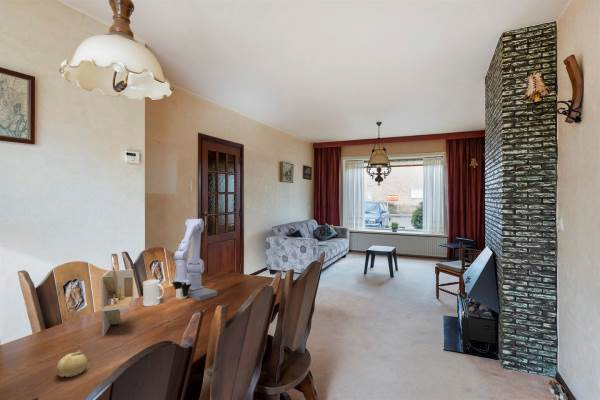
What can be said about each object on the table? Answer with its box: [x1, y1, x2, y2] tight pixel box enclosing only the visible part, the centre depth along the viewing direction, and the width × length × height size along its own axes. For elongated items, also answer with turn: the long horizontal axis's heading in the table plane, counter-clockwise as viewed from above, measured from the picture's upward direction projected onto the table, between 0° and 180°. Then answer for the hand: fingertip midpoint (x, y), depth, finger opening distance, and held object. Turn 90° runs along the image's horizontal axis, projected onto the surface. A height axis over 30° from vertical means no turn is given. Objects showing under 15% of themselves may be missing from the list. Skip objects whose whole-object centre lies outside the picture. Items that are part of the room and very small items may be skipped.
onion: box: [55, 350, 88, 378], centre depth 98 cm, size 8×8×7 cm
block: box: [175, 288, 188, 300], centre depth 176 cm, size 4×4×5 cm
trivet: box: [187, 287, 218, 301], centre depth 179 cm, size 12×12×2 cm
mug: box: [142, 279, 165, 307], centre depth 165 cm, size 12×8×12 cm
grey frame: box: [100, 265, 134, 337], centre depth 132 cm, size 10×16×29 cm, turn 21°
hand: (181, 295), depth 176 cm, fingers open, 7 cm apart
